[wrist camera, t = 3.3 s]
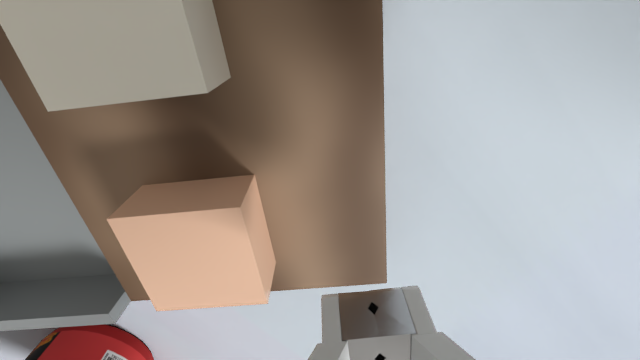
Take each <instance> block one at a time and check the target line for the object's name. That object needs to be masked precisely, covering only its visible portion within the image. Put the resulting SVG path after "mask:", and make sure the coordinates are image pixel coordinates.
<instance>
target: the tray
mask: <svg viewBox="0 0 640 360" xmlns="http://www.w3.org/2000/svg"><path fill="white" fill-rule="evenodd" d="M130 301H131V300H130V299H129V297H128V295H127V293H126V292H125V290H124V288H123V287H122V285H121V283H120V282H119V280H118V278H117V277H116V275H115V273H114V271H113V270H112V268H111V266H110V265H109V263H108V261H107V260H106V258H105V256H104V254H103V253H102V251H101V249H100V248H99V246H98V244H97V243H96V241H95V239H94V237H93V236H92V234H91V232H90V231H89V229H88V227H87V226H86V224H85V222H84V221H83V219H82V217H81V215H80V214H79V212H78V210H77V209H76V207H75V205H74V204H73V202H72V200H71V198H70V197H69V195H68V193H67V192H66V190H65V188H64V187H63V185H62V183H61V182H60V180H59V178H58V176H57V175H56V173H55V171H54V170H53V168H52V166H51V165H50V163H49V161H48V159H47V158H46V156H45V154H44V153H43V151H42V149H41V148H40V146H39V144H38V143H37V141H36V139H35V137H34V136H33V134H32V132H31V131H30V129H29V127H28V126H27V124H26V122H25V120H24V119H23V117H22V115H21V114H20V112H19V110H18V109H17V107H16V105H15V104H14V102H13V100H12V98H11V97H10V95H9V93H8V92H7V90H6V88H5V87H4V85H3V83H2V81H1V80H0V331H12V330H27V329H42V328H57V327H73V326H88V325H103V324H116V322H117V321H118V319H119V318H120V316H121V315H122V313H123V312H124V310H125V309H126V307H127V306H128V304H129V303H130Z"/></svg>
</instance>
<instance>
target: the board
mask: <svg viewBox="0 0 640 360" xmlns="http://www.w3.org/2000/svg"><path fill="white" fill-rule="evenodd" d="M212 2H213V6H214V10H215V14H216V18H217V22H218V26H219V30H220V35H221V39H222V43H223V47H224V51H225V55H226V59H227V63H228V67H229V71H230V76H231V78H229V79H228V80H226V81H225V82H224V83H222V84H221V85H219V86H218V87H216V88H215V89H213V90H212V91H210V92H209V93H204V94H196V95H187V96H178V97H170V98H161V99H153V100H144V101H135V102H127V103H118V104H110V105H101V106H92V107H84V108H75V109H66V110H58V111H49V112H48V111H47V109H46V107H45V105H44V104H43V102H42V100H41V98H40V96H39V94H38V92H37V91H36V89H35V87H34V85H33V83H32V81H31V80H30V78H29V76H28V74H27V72H26V70H25V69H24V67H23V65H22V63H21V61H20V59H19V58H18V56H17V54H16V52H15V50H14V48H13V47H12V45H11V43H10V41H9V39H8V37H7V36H6V34H5V32H4V30H3V28H2V26H1V25H0V80H1V81H2V83H3V85H4V87H5V88H6V90H7V92H8V93H9V95H10V97H11V98H12V100H13V102H14V104H15V105H16V107H17V109H18V110H19V112H20V114H21V115H22V117H23V119H24V120H25V122H26V124H27V126H28V127H29V129H30V131H31V132H32V134H33V136H34V137H35V139H36V141H37V143H38V144H39V146H40V148H41V149H42V151H43V153H44V154H45V156H46V158H47V159H48V161H49V163H50V165H51V166H52V168H53V170H54V171H55V173H56V175H57V176H58V178H59V180H60V182H61V183H62V185H63V187H64V188H65V190H66V192H67V193H68V195H69V197H70V198H71V200H72V202H73V204H74V205H75V207H76V209H77V210H78V212H79V214H80V215H81V217H82V219H83V221H84V222H85V224H86V226H87V227H88V229H89V231H90V232H91V234H92V236H93V237H94V239H95V241H96V243H97V244H98V246H99V248H100V249H101V251H102V253H103V254H104V256H105V258H106V260H107V261H108V263H109V265H110V266H111V268H112V270H113V271H114V273H115V275H116V277H117V278H118V280H119V282H120V283H121V285H122V287H123V288H124V290H125V292H126V293H127V295H128V297H129V299H130V300H131V301H139V300H150V298H149V296H148V294H147V293H146V291H145V289H144V287H143V285H142V283H141V282H140V280H139V278H138V276H137V274H136V272H135V271H134V269H133V267H132V265H131V263H130V261H129V260H128V258H127V256H126V254H125V252H124V250H123V249H122V247H121V245H120V243H119V241H118V239H117V238H116V236H115V234H114V232H113V230H112V228H111V227H110V225H109V223H108V221H107V218H108V217H109V216H110V215H111V214H112V213H114V212H115V211H116V210H117V209H118V208H119V207H120V206H121V205H122V204H123V203H124V202H125V201H126V200H127V199H128V198H129V197H131V196H132V195H133V194H134V193H135V192H136V191H137V190H138V189H139V188H140V187H141V186H142V185H151V184H162V183H172V182H182V181H193V180H203V179H213V178H224V177H234V176H244V175H255V178H256V182H257V186H258V191H259V195H260V199H261V203H262V207H263V211H264V215H265V219H266V223H267V228H268V232H269V236H270V240H271V244H272V248H273V252H274V256H275V260H276V265H275V270H274V275H273V280H272V285H271V290H270V291H281V290H295V289H309V288H323V287H337V286H351V285H365V284H380V283H387V269H386V205H385V141H384V77H383V13H382V0H212Z"/></svg>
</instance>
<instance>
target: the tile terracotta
mask: <svg viewBox="0 0 640 360" xmlns="http://www.w3.org/2000/svg"><path fill="white" fill-rule="evenodd" d="M107 221H108V223H109V225H110V227H111V228H112V230H113V232H114V234H115V236H116V238H117V239H118V241H119V243H120V245H121V247H122V249H123V250H124V252H125V254H126V256H127V258H128V260H129V261H130V263H131V265H132V267H133V269H134V271H135V272H136V274H137V276H138V278H139V280H140V282H141V283H142V285H143V287H144V289H145V291H146V293H147V294H148V296H149V298H150V300H151V302H152V304H153V306H154V307H155V309H156V311H168V310H183V309H197V308H212V307H227V306H241V305H256V304H268V300H269V295H270V290H271V285H272V280H273V275H274V270H275V265H276V260H275V256H274V252H273V248H272V244H271V240H270V236H269V232H268V228H267V223H266V219H265V215H264V211H263V207H262V203H261V199H260V195H259V191H258V186H257V182H256V178H255V175H244V176H234V177H224V178H213V179H203V180H193V181H182V182H172V183H162V184H151V185H142V186H141V187H140V188H139V189H138V190H137V191H136V192H135V193H134V194H133V195H132V196H131V197H129V198H128V199H127V200H126V201H125V202H124V203H123V204H122V205H121V206H120V207H119V208H118V209H117V210H116V211H115V212H114V213H112V214H111V215H110V216H109V217H108V218H107Z"/></svg>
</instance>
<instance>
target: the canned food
mask: <svg viewBox="0 0 640 360" xmlns="http://www.w3.org/2000/svg"><path fill="white" fill-rule="evenodd" d="M25 360H154V359H153V356H152V353H151V352H150V351H149V349H148V348H147V346H146V345H145V344H144V343H143V342H142V341H140V340H139V339H138V338H136V337H135V336H133V335H131V334H130V333H128V332H126V331H124V330H121V329H119V328H116V327H113V326H110V325H106V324H103V325H88V326H73V327H59V328H58V329H56V330H55V331H53V332H52V333H51V334H49V335H48V336H46V337H45V338H44V339H43V340H42V341H41V342H40V343H39V344H38V345H37V347H36V348H35V349H34V350H33V351H32V352H31V353H30V355H29V356H28V357H27V358H26V359H25Z"/></svg>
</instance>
